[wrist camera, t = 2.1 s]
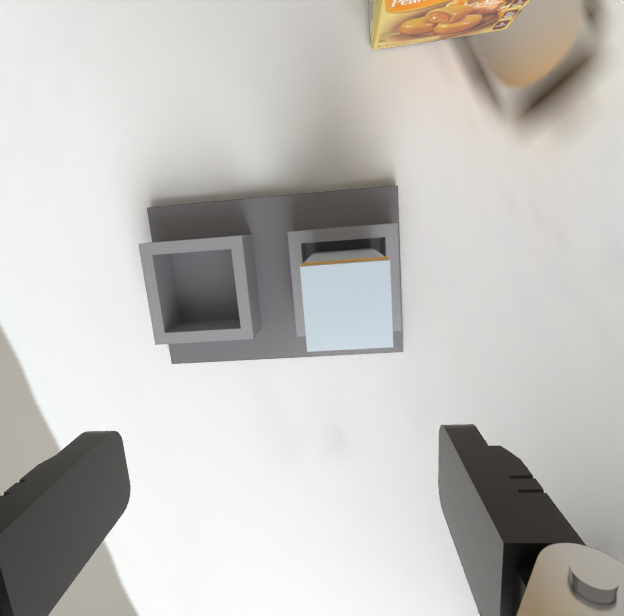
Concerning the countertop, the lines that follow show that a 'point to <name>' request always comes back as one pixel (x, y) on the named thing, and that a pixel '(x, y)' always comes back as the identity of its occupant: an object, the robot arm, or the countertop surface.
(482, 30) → the candy box
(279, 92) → the countertop surface
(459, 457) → the robot arm
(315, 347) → the plug
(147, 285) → the grey boxy piece
